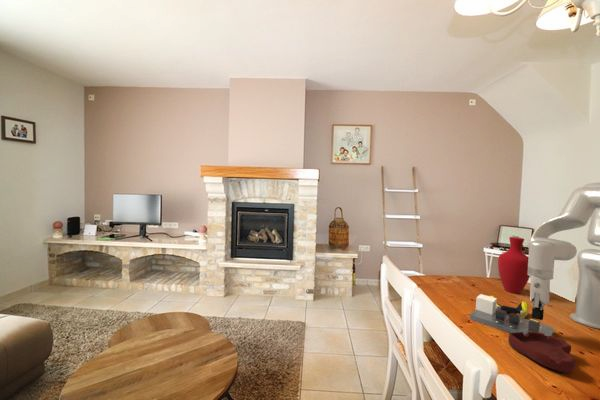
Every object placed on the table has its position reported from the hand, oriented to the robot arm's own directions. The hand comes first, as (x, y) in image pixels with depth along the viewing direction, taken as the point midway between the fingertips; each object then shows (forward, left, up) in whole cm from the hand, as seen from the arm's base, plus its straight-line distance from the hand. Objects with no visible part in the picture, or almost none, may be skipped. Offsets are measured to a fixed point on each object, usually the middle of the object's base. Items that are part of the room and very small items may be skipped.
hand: (537, 318), depth 107 cm
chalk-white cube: (+17, -1, -4) cm, 18 cm away
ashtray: (-3, +20, -6) cm, 21 cm away
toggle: (0, +4, -3) cm, 5 cm away
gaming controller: (+11, -12, -6) cm, 17 cm away
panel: (+8, +2, -6) cm, 10 cm away
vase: (+16, -47, -6) cm, 50 cm away
